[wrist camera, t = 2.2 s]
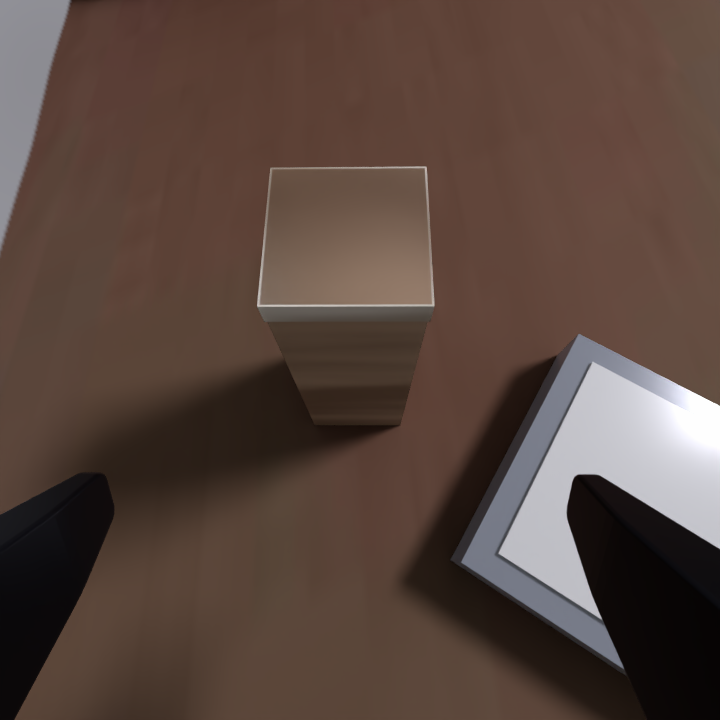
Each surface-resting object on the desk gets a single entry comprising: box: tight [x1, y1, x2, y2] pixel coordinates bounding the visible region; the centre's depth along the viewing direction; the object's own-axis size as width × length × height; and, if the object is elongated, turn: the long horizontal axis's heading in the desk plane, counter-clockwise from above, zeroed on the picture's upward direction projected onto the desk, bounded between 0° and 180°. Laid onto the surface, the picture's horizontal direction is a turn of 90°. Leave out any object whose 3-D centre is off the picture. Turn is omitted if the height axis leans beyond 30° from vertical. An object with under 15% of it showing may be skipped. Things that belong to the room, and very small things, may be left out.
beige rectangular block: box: [257, 167, 434, 425], centre depth 17 cm, size 4×4×12 cm
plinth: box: [451, 334, 720, 677], centre depth 19 cm, size 11×11×3 cm
